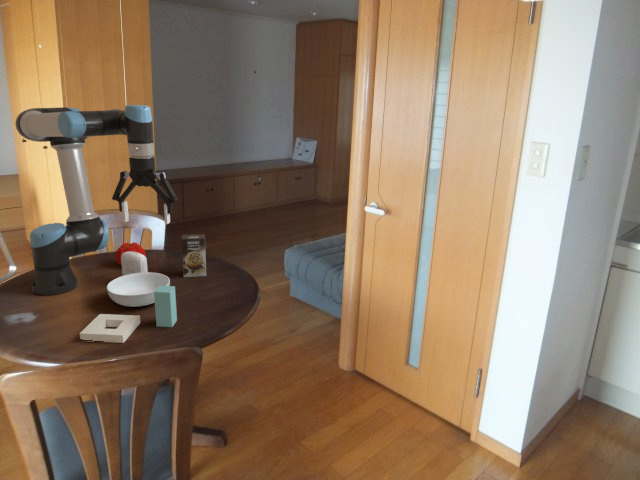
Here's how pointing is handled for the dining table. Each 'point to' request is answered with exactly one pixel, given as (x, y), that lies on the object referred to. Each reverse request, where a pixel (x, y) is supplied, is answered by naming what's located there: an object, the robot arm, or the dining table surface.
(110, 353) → the dining table surface
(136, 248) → the tomato
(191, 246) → the coffee box
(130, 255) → the photo printer
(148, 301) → the serving bowl
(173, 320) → the teal square peg
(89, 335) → the white square frame
